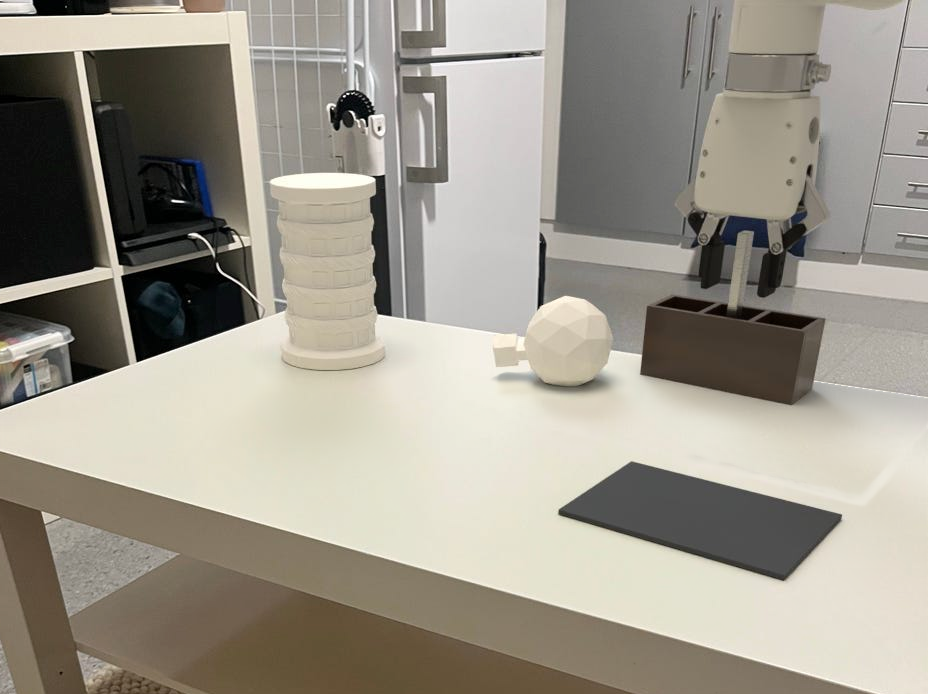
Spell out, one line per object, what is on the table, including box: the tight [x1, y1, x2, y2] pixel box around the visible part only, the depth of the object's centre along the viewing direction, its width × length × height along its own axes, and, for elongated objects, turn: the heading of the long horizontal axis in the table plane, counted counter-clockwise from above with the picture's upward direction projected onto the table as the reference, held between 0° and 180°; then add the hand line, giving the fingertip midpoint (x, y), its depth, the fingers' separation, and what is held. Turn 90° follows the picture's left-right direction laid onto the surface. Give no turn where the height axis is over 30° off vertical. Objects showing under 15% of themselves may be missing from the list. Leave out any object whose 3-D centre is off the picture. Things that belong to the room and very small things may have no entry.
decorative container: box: [269, 172, 386, 371], centre depth 109 cm, size 12×12×18 cm
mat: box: [557, 460, 843, 581], centre depth 78 cm, size 18×12×1 cm, turn 54°
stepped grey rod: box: [726, 230, 755, 320], centre depth 100 cm, size 1×3×14 cm, turn 144°
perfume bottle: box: [492, 295, 614, 387], centre depth 103 cm, size 9×9×12 cm
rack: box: [639, 293, 826, 406], centre depth 102 cm, size 6×16×8 cm, turn 54°
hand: (737, 288), depth 99 cm, fingers open, 5 cm apart
